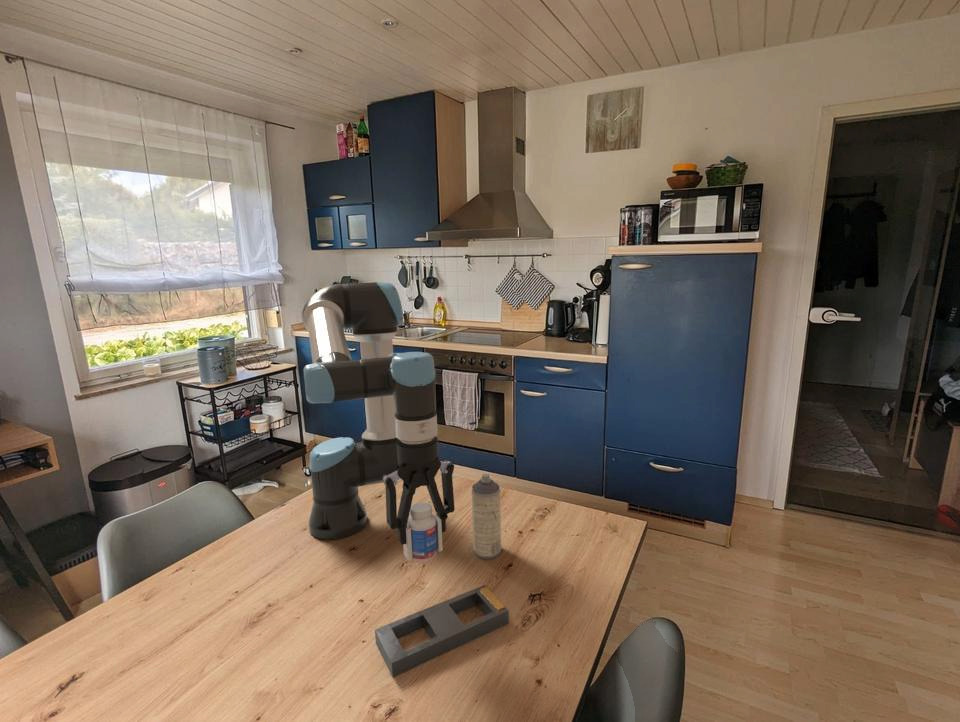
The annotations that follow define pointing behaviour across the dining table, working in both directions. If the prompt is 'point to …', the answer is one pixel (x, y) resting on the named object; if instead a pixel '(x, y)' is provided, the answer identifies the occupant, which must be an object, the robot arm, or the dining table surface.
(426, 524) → the pill bottle
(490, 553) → the aerosol can
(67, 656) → the dining table surface
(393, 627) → the grey bottle holder tray
